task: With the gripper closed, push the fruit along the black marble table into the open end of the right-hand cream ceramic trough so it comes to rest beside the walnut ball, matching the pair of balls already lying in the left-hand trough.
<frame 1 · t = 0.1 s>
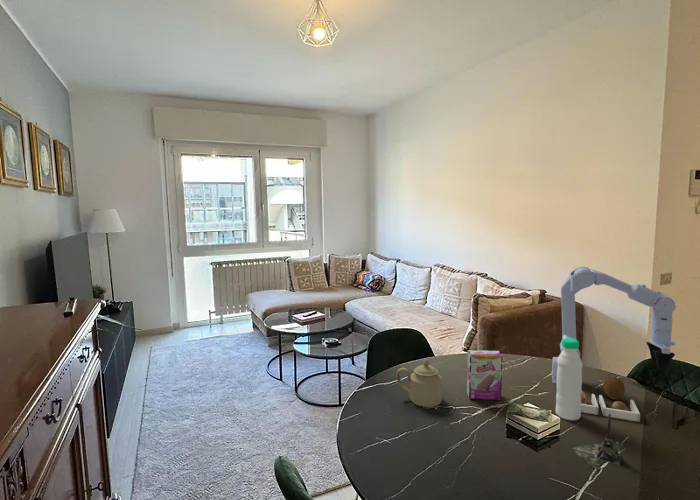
hand: (658, 366, 139), 10 cm above the table, tool pointing down, fingers open, 7 cm apart
walnut ball 2: (579, 407, 133), resting in trough left
eiffel tower figurine: (606, 457, 107), on the table
sugar bowl: (420, 401, 140), on the table
trough right: (618, 411, 130), on the table
candy bar box: (484, 397, 141), on the table
terracotta ball: (578, 401, 137), on the table
fruit: (613, 399, 138), on the table
water bottle: (567, 416, 128), on the table
trough left: (579, 405, 134), on the table
walnut ball: (619, 413, 128), resting in trough right
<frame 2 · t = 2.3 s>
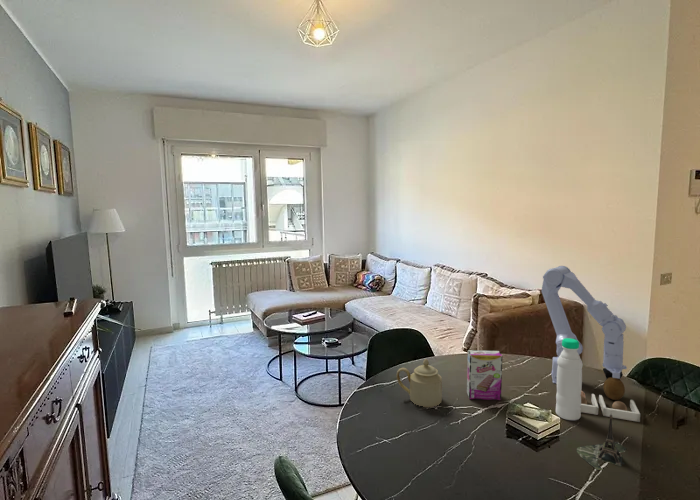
hand: (611, 390, 142), 1 cm above the table, tool pointing down, fingers closed
fruit: (613, 400, 138), on the table, touching gripper
everything else where it was.
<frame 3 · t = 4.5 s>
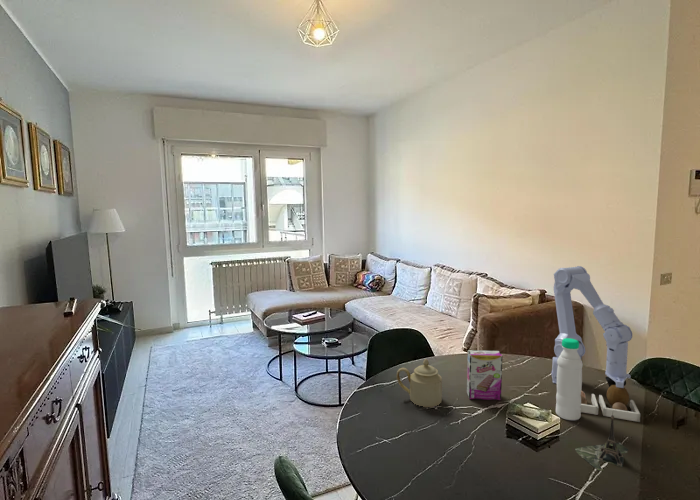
hand: (614, 399, 135), 1 cm above the table, tool pointing down, fingers closed
fruit: (617, 408, 132), on the table, touching gripper, walnut ball
walnut ball: (619, 414, 128), resting in trough right, tilted 8°, touching fruit
everything else where it was.
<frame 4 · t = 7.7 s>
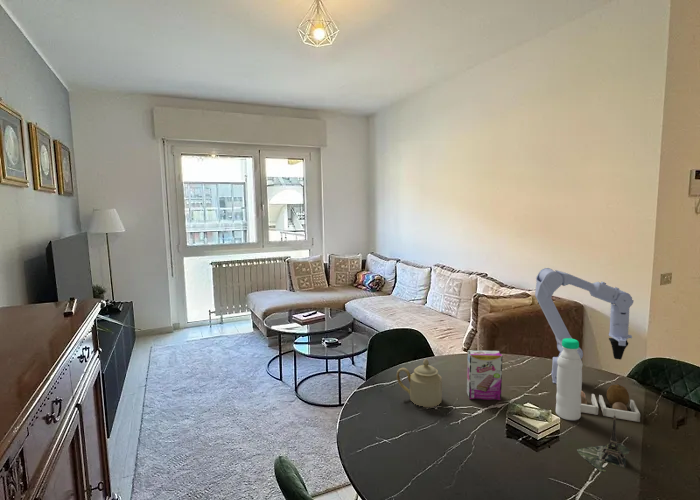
hand: (617, 358, 148), 10 cm above the table, tool pointing down, fingers closed
fruit: (617, 408, 132), on the table, touching walnut ball
at the end: fruit inside the target area (1.1 cm from its centre), on the table; fruit 4.5 cm from the walnut ball (horizontally); walnut ball inside the target area (2.1 cm from its centre), resting in trough right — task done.
